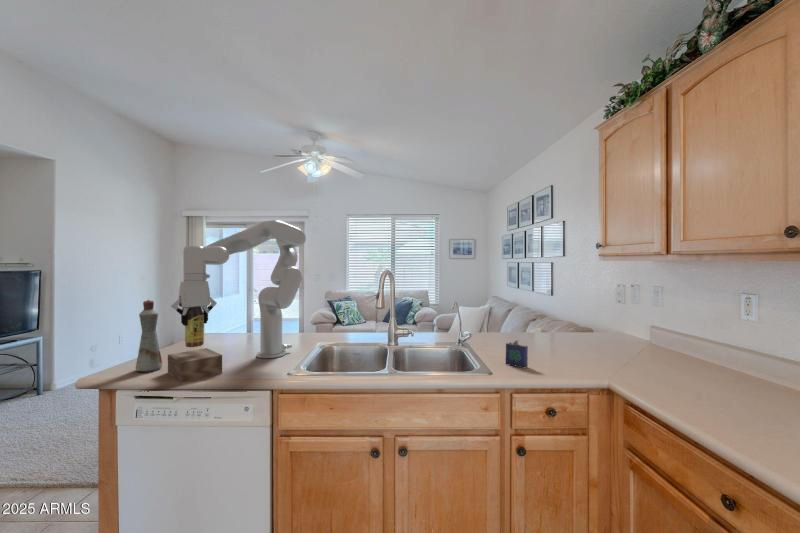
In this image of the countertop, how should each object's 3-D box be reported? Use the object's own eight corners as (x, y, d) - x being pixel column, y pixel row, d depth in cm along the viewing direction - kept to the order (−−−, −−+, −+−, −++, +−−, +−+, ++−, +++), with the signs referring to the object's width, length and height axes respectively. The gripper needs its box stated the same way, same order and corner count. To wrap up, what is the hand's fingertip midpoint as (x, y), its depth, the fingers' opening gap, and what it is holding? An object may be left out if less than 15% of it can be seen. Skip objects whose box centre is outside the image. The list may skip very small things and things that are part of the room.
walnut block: (206, 364, 146) (206, 348, 146) (222, 373, 135) (222, 355, 135) (167, 372, 135) (167, 354, 135) (181, 382, 125) (181, 362, 124)
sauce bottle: (195, 348, 131) (194, 295, 131) (181, 347, 132) (180, 295, 132) (208, 344, 138) (207, 294, 137) (194, 343, 139) (193, 293, 138)
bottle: (128, 372, 135) (128, 300, 135) (148, 366, 144) (148, 298, 144) (148, 373, 134) (148, 301, 134) (167, 366, 143) (167, 298, 143)
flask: (528, 367, 144) (528, 341, 144) (525, 368, 142) (525, 342, 142) (506, 363, 150) (507, 338, 150) (504, 364, 148) (504, 339, 148)
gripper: (214, 277, 144) (214, 320, 144) (165, 278, 131) (166, 325, 131) (222, 277, 139) (222, 322, 139) (172, 278, 126) (172, 328, 126)
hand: (194, 323), depth 135 cm, fingers closed on sauce bottle, 6 cm apart
